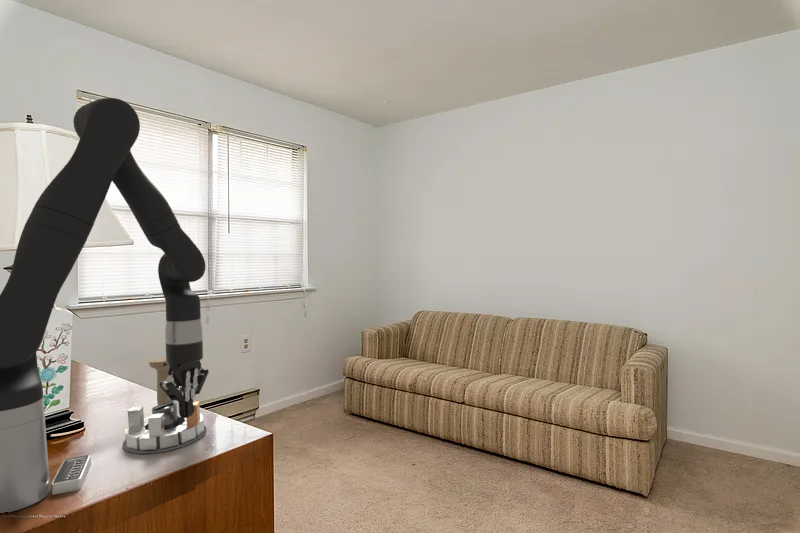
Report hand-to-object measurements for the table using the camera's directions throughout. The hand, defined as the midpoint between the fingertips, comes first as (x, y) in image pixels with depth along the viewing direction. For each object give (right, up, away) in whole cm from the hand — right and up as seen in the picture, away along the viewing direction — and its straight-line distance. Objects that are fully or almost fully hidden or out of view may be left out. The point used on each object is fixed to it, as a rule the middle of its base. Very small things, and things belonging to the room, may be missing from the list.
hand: (186, 416), depth 106 cm
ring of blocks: (-5, -5, +1) cm, 8 cm away
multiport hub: (-14, -7, -16) cm, 23 cm away
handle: (-11, -5, +13) cm, 18 cm away
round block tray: (-5, -5, +1) cm, 8 cm away
